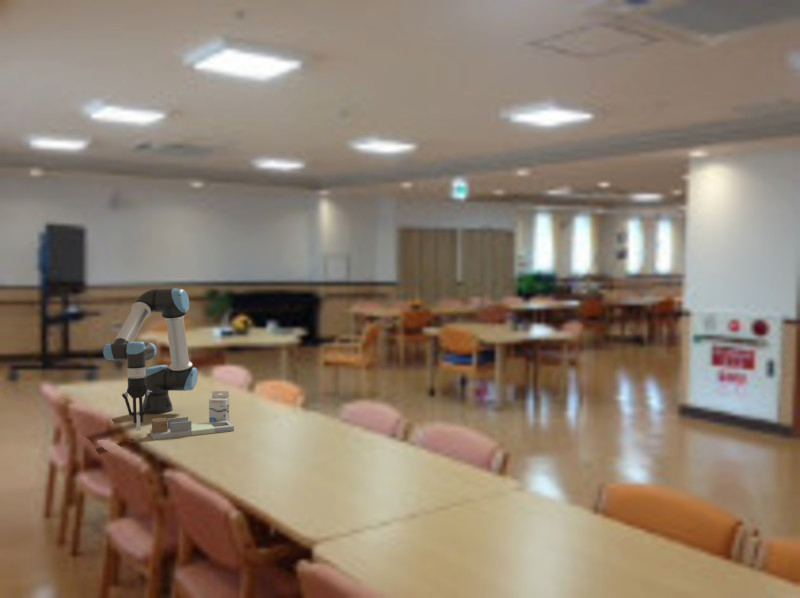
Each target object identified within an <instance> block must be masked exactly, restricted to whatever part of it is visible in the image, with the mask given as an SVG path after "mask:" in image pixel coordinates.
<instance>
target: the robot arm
mask: <svg viewBox="0 0 800 598" xmlns="http://www.w3.org/2000/svg"><path fill="white" fill-rule="evenodd" d="M130 309H131V311H130V312H129V314H128V315H127V318H126V320H125V321H124V323H123V325H122V327H121V329H120V330H119V332H118V334H117V335H116V337H115V339H114V341H113V342H111V343H106V344H105V345H103V346H104V347H103V353H102V354H103V357H104V358H105V360H107V361H113V362H115V361H126V362H127V363H126V364H127V367H126V368H127V369H126V370H127V377H128V378H127V389H126V391H125V392H124V393H121V396H122V398H123V399H124V402H125V405H126V408H127V411H128V414H129V416H132V417H133V418H132V419H133V423H134V424H136V428H135V429H136V431H137V432H140V431H141V429H142V428H141V423H143V422H144V415H145V414H153V415H154V414H155V415H156V414H163V413H168V412H169V413H170V412H171V411H173V403H172V401H171V398H170V394H169V391H172V392H173V391H175V392H177V391H179V392H182V391H184V392H186V391H193V390H194V389H195V388H196V385H197V383H198V379H199V377H198V376H199V372H198V368H196V367H194V366H193V365H194V364H193V362H192V361H190V357H189V351H188V343H187V336H186V327H185V320H184V317H185V316H186V315H187V312H188V311H189V310H190V298H189V295H188V293H187V292H186V291H185V290H184V289H183V288H174V287H173V288H151V289H149V290H146V291H144V292H143V293H142V294H140V295H139V296H138V297H136V299H135V300H134V301H133V303H132V305H131V308H130ZM152 313H161V317H162V319H163V320H165V323H166V324H165V325H166V331H167V338H168V339H167V340H168V347H169V354H170V361H171V363H170V364H169V365H168V364H159V365H154V366H153V365H152V366H150V367H149V366H148V367H146V361H150V360H152V358H155V356H156V355H157V353H158V349H157V346H156V345H155V344H154V343H153V342H144V341H141V340H140V341H139V340H137V341H136V337H137V336H138V333H139V331H140V330H141V328H142V326H143V324H144V323H145V321H146V319H147V318H148V317H150V316H151V314H152ZM129 396H130V397H131V398H132V408H131V405H130V401H129V398H128V397H129ZM143 398H144V399H143ZM137 399H138V406H139V407H138V408H139V409H138V411H139V412H138V413H139V414H137Z"/></svg>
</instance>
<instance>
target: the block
mask: <svg viewBox="0 0 800 598" xmlns="http://www.w3.org/2000/svg"><path fill="white" fill-rule="evenodd" d="M151 428H152V431H153V433H160V432H168V418H166V417H158V418H151Z"/></svg>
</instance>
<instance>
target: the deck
mask: <svg viewBox="0 0 800 598" xmlns="http://www.w3.org/2000/svg"><path fill="white" fill-rule="evenodd" d="M167 426H168V432H160V433H153V431H152V427H151V428H149V433H150V436H151V438H152V440H161V439H163V440H164V439H170V438H180V437H188V436H197V435H205V434H206V435H208V434H215V433H223V432H224V433H225V432H234V431H235V426H234V424H232V423H231V421H230V420H229V421H228V420H226V421H217V422H209V421H208V422H199V423H192V420H189V416H181V417H172V418H167Z"/></svg>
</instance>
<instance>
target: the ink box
mask: <svg viewBox="0 0 800 598" xmlns="http://www.w3.org/2000/svg"><path fill="white" fill-rule="evenodd" d="M211 393H212V396H211V397H210V398H209V399H208V414H209V415H208V418H209V419H208V420H209V421H208V422H217V421H226V420H228V421H229V422H230V397H229V396H230V395H229V391H228V390H227V391H226V390H221V391H220V390H213V391H211Z"/></svg>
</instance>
